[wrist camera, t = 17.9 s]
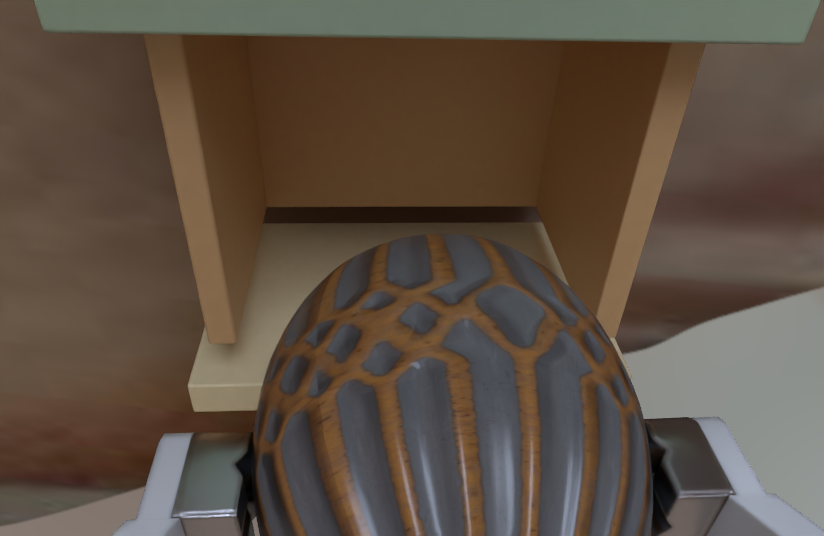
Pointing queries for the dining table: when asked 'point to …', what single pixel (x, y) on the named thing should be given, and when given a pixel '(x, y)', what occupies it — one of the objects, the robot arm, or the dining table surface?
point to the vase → (448, 404)
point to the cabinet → (446, 19)
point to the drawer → (404, 164)
